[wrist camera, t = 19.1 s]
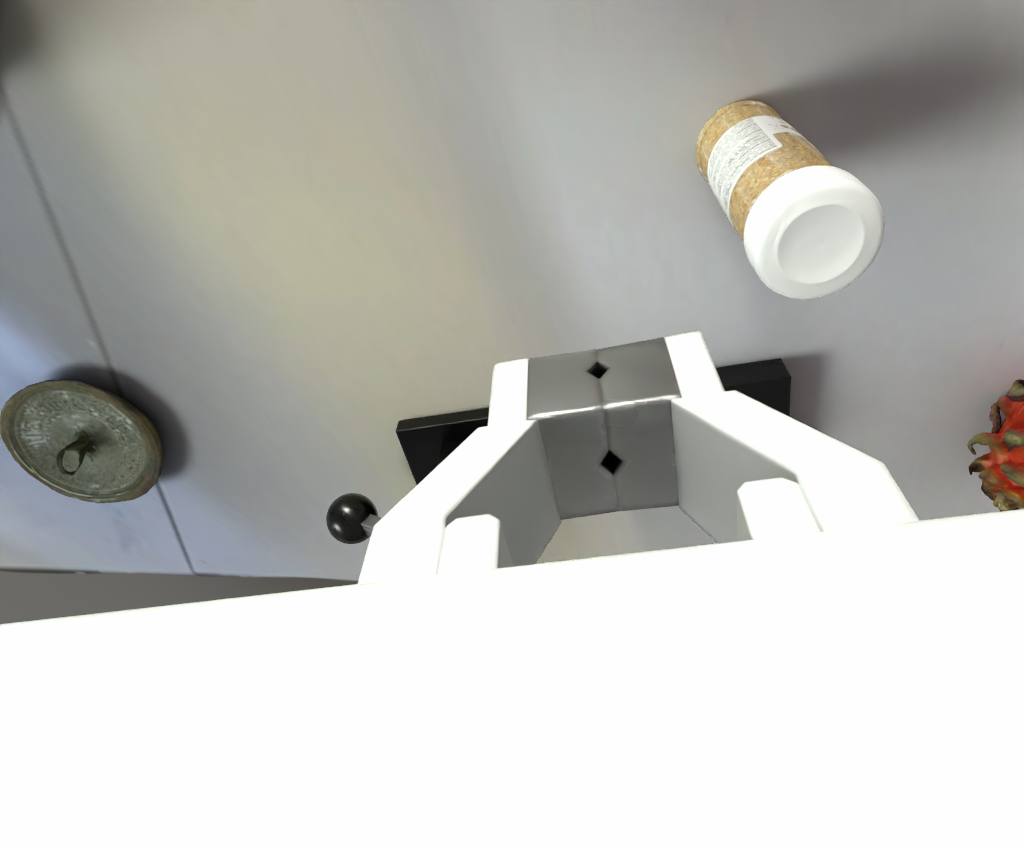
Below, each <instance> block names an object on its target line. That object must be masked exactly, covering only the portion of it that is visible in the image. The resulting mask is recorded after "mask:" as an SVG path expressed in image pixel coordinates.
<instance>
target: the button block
mask: <svg viewBox="0 0 1024 848" xmlns="http://www.w3.org/2000/svg"><path fill="white" fill-rule="evenodd" d="M716 370H717V373H718V375H719V378H720V380H721V383H722V385H723V388H724V390H725V392H726V391H733V390H736V391H738V392H740V393H742V394H744V395H746V396H748V397H750V398H752V399H754V400H756V401H758V402H760V403H762V404H764V405H766V406H768V407H770V408H772V409H775V410H777V411H779V412H781V413H783V414H785V415H787V416H789V413H790V388H791V376H790V375H789V373H788V371H787V369H786V367H785V365H784V363H783V361H782V359H774V360H767V361H760V362H754V363H747V364H740V365H733V366H727V367H720V368H716Z"/></svg>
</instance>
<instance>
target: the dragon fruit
mask: <svg viewBox="0 0 1024 848" xmlns="http://www.w3.org/2000/svg"><path fill="white" fill-rule="evenodd" d="M1022 395H1024V380H1016V381H1015V382H1014V384H1013V385H1012V387H1011V389H1010V390H1009V392H1008V396H1022ZM1000 408H1001V410H1002V411H1003V412H1004V414H1005V416H1006V419H1005V421H1004V423H1003V425H1001V416H1000V410H999V409H1000ZM991 410H992V411H991V412H990V417H989V418H990V420H991V421H992V422H993V428H992V433H981V434H978V435H976V436H974V437H973V438H972V439H971V440H970V441H969V442H968V448H969V449H970V451H971V452H972V453H973V454H975V455H976V452H975V450H974V448H973V447H972V445H973V444H976V443H979V444H981V445H989V447H990V450H991V452H990V453H988V454H985V455H983V456H981V457H979V458H977V459H975V460H974V461H973V462H972V463H971V464H970V466H969V472H970V475H972V472H980V474H979V478H980V479H982V480H983V481H982V486H981V489H982V491H983V492H984V494H985V495H987V496H988V497H989V498H990V499H991V500H993V501H994V503H993V504H994V506H996V507H998V508H999V510H1000V511H1001V512H1002V511H1011V510H1020V509H1024V401H1023V402H1014V401H1012V400H1011V399H1010V398H1008V397H1006V396H1003V397H1000V398H999V399H998V400H997V402H996V403H994V404H993V406H991Z"/></svg>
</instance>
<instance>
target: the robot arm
mask: <svg viewBox="0 0 1024 848" xmlns="http://www.w3.org/2000/svg"><path fill="white" fill-rule="evenodd" d="M678 505H679V508H680V509H681V510H682V511H683V512H684V513H685V514H687V515H688V516H689V517H690V518H691V519H692V520H693V521H694V522H695V523H696V524H697V525H699V526H700V527H701V528H702V529H703V530H704V531H705V532H706V533H707V534H708V535H709V536H711V537H712V538H713V539H714V540H715V541H716V542H717V543H718V544H710V545H701V546H692V547H683V548H675V549H666V550H657V551H648V552H639V553H630V554H621V555H612V556H604V557H595V558H586V559H577V560H568V561H559V562H550V563H541V564H535V563H536V562H537V560H538V559H539V557H540V555H541V554H542V552H543V551H544V549H545V548H546V546H547V544H548V543H549V541H550V540H551V538H552V536H553V535H554V533H555V532H556V530H557V529H558V527H559V525H560V524H561V520H563V519H570V518H576V517H583V516H590V515H596V514H603V513H610V512H616V511H626V510H636V509H647V508H657V507H667V506H678ZM618 508H619V509H618ZM0 848H1024V509H1020V510H1011V511H1002V512H993V513H984V514H975V515H967V516H958V517H949V518H940V519H931V520H922V521H920V520H919V519H918V517H917V516H916V514H915V512H914V511H913V509H912V508H911V506H910V504H909V503H908V501H907V500H906V498H905V497H904V495H903V493H902V492H901V490H900V489H899V487H898V485H897V484H896V482H895V481H894V479H893V477H892V476H891V474H890V473H889V471H888V470H887V468H886V466H885V465H884V463H883V462H881V461H878V460H876V459H874V458H872V457H870V456H868V455H866V454H864V453H862V452H860V451H858V450H856V449H854V448H852V447H850V446H848V445H846V444H844V443H842V442H840V441H838V440H836V439H834V438H832V437H830V436H828V435H825V434H823V433H821V432H819V431H817V430H815V429H813V428H811V427H809V426H807V425H805V424H803V423H801V422H799V421H797V420H795V419H793V418H791V417H789V416H787V415H785V414H783V413H781V412H779V411H777V410H775V409H772V408H770V407H768V406H766V405H764V404H762V403H760V402H758V401H756V400H754V399H752V398H750V397H748V396H746V395H744V394H742V393H740V392H738V391H736V390H733V391H726V392H725V390H724V388H723V385H722V383H721V380H720V378H719V375H718V373H717V370H716V368H715V365H714V363H713V360H712V358H711V355H710V353H709V350H708V348H707V345H706V343H705V340H704V338H703V335H702V333H701V332H699V331H694V332H689V333H684V334H679V335H674V336H669V337H663V338H657V339H652V340H646V341H641V342H635V343H630V344H625V345H619V346H614V347H608V348H603V349H597V350H596V349H593V350H586V351H579V352H572V353H565V354H557V355H550V356H543V357H536V358H530V359H527V358H525V359H520V360H514V361H509V362H503V363H498V364H496V365H495V367H494V370H493V379H492V388H491V398H490V407H489V416H488V426H486V427H479V428H477V429H476V430H475V431H474V432H473V433H472V434H471V435H470V436H469V437H468V438H467V439H466V440H465V441H464V442H463V443H461V444H460V445H459V446H458V447H457V448H456V449H455V450H454V451H453V452H452V453H451V454H450V455H449V456H448V457H447V458H446V459H444V460H443V461H442V462H441V463H440V464H439V465H438V466H437V467H436V468H435V469H434V470H433V471H432V472H431V473H430V474H429V475H427V476H426V477H425V478H424V479H423V480H422V481H421V482H420V483H419V484H418V485H417V486H416V487H415V488H414V489H413V490H412V491H411V492H409V493H408V494H407V495H406V496H405V497H404V498H403V499H402V500H401V501H400V502H399V503H398V504H397V505H396V506H395V507H394V508H392V509H391V510H390V511H389V512H388V513H387V514H386V515H385V516H384V517H383V518H382V519H381V520H380V521H379V522H378V523H377V524H375V525H374V527H373V531H372V534H371V538H370V542H369V545H368V549H367V552H366V556H365V559H364V563H363V567H362V570H361V574H360V577H359V581H358V584H356V585H346V586H337V587H328V588H320V589H311V590H302V591H293V592H284V593H275V594H267V595H257V596H249V597H240V598H231V599H222V600H214V601H205V602H196V603H186V604H179V605H178V604H177V605H169V606H160V607H151V608H142V609H134V610H125V611H115V612H107V613H98V614H89V615H80V616H72V617H62V618H53V619H45V620H36V621H27V622H19V623H9V624H0Z"/></svg>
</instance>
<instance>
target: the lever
mask: <svg viewBox="0 0 1024 848" xmlns="http://www.w3.org/2000/svg"><path fill="white" fill-rule="evenodd" d="M381 519H382V518H380V517H378V514H377V510H376V507H375V505H374V504H373V503H372V501H371V500H370V499H368V498H367V497H365V496H363V495H361V494H356V493H350V494H345V495H343V496H341V497H339V498H337V499H336V500H335V501H334V502H333V503H332V504H331V506H330V507H329V510H328V512H327V517H326V521H327V527H328V529H329V531H330V533H331V534H332V536H333V537H334V538H336V539H337V540H339V541H340V542H343V543H347V544H356V543H360V542H362V541H364V540H366V539H367V538H369V537H371V534H372V531H373V527H374V525H375V524H377V523H378V522H379V521H380V520H381Z"/></svg>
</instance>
